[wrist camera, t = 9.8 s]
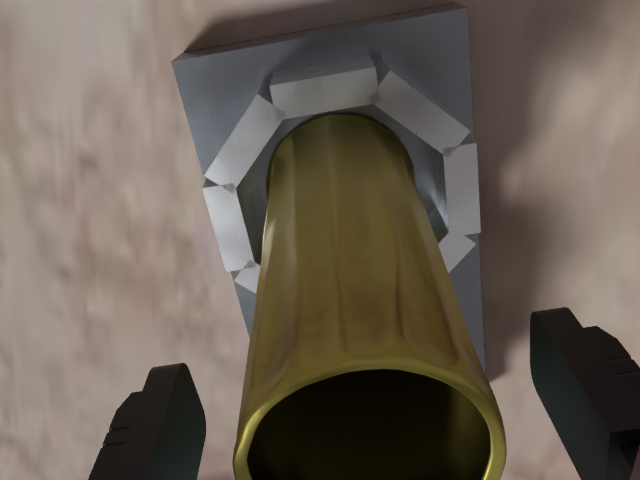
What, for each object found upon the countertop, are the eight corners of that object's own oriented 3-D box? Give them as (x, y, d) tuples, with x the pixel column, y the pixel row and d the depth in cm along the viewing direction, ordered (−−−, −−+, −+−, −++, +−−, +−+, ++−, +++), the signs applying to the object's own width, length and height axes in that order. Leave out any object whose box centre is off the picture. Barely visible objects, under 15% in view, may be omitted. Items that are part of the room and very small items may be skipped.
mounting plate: (182, 52, 23) (96, 121, 14) (455, 2, 22) (552, 40, 13) (281, 416, 32) (268, 599, 23) (477, 389, 31) (543, 568, 22)
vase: (235, 177, 23) (139, 455, 10) (352, 79, 21) (407, 271, 9) (330, 275, 25) (345, 603, 13) (443, 193, 24) (594, 479, 11)
